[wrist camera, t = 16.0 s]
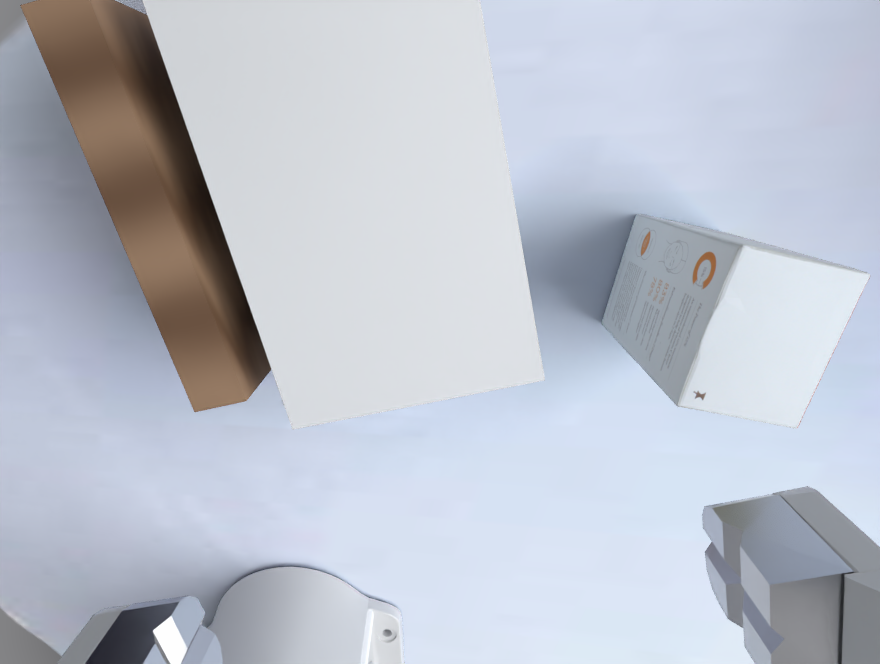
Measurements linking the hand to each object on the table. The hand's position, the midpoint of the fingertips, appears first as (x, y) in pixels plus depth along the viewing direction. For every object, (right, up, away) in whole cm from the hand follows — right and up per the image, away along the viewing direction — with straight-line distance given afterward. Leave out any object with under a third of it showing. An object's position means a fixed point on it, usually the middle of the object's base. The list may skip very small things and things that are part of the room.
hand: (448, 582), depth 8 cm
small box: (+15, +8, +28) cm, 33 cm away
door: (-14, +12, +27) cm, 33 cm away
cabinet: (-7, +13, +26) cm, 30 cm away
